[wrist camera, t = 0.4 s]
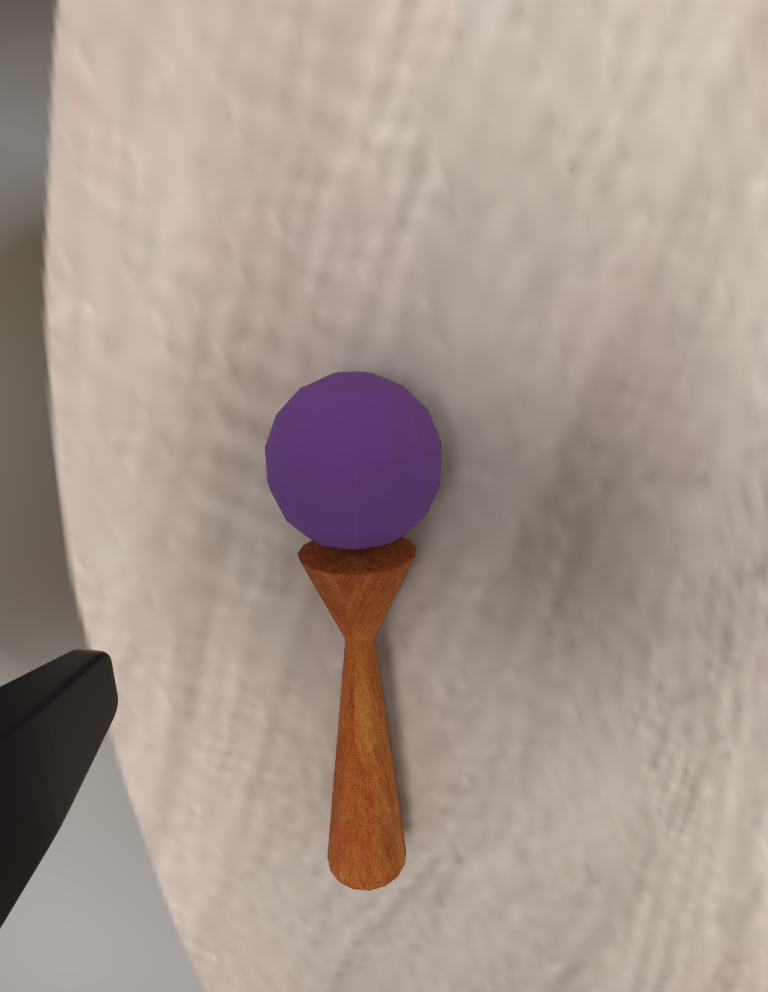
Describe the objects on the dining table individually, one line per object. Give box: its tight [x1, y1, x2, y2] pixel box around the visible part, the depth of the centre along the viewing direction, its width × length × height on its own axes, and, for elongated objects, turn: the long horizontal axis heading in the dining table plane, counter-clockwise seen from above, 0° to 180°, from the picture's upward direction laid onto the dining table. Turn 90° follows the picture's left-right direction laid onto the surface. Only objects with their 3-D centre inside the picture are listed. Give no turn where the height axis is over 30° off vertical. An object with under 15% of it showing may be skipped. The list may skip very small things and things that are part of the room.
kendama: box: [265, 372, 441, 890], centre depth 21 cm, size 6×6×20 cm
